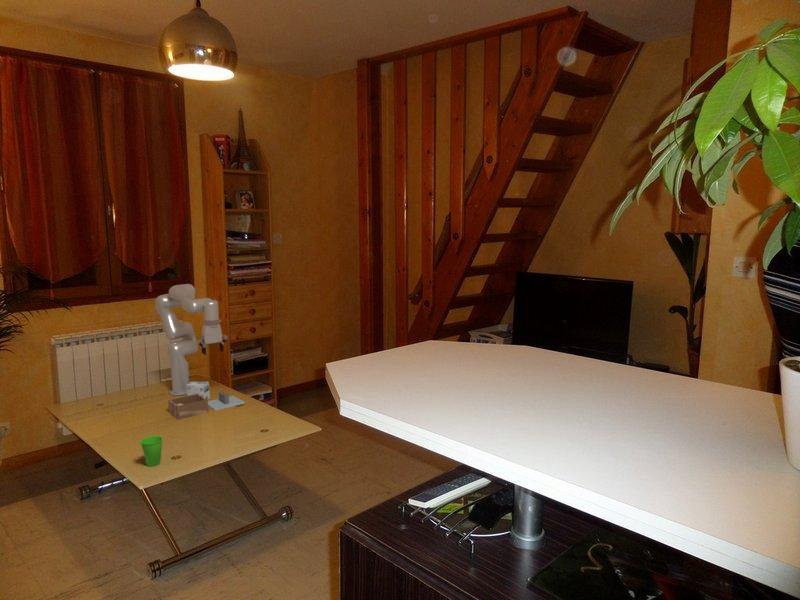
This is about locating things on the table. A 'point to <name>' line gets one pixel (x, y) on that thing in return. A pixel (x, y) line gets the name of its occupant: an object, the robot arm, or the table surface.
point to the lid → (224, 401)
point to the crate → (188, 406)
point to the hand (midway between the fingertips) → (212, 352)
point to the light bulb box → (198, 389)
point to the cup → (152, 449)
